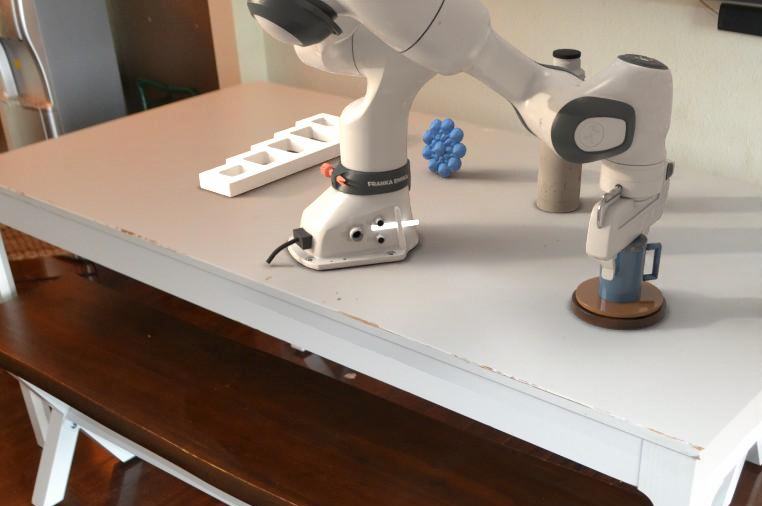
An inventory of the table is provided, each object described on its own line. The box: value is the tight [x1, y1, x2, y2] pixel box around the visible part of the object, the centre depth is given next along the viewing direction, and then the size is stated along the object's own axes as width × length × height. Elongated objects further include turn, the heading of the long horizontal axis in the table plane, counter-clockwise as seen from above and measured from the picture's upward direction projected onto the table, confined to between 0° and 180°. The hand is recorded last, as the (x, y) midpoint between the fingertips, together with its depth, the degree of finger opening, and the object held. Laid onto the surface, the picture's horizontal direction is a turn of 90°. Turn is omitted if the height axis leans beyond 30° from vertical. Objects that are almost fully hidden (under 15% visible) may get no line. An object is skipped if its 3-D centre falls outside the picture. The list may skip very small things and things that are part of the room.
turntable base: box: [570, 289, 667, 331], centre depth 148 cm, size 14×14×2 cm
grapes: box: [421, 117, 467, 178], centre depth 195 cm, size 12×7×12 cm, turn 45°
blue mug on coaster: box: [575, 234, 664, 318], centre depth 145 cm, size 13×13×10 cm
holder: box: [198, 112, 341, 198], centre depth 207 cm, size 45×18×3 cm, turn 143°
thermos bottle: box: [536, 48, 587, 214], centre depth 177 cm, size 8×8×28 cm
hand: (622, 266), depth 145 cm, fingers open, 8 cm apart
